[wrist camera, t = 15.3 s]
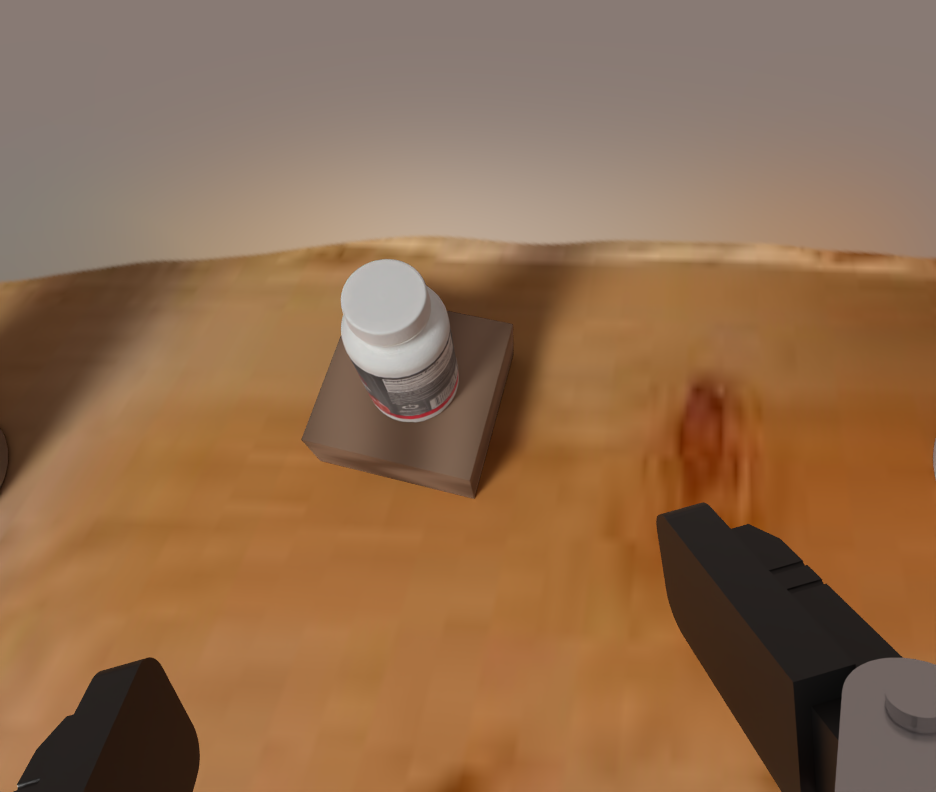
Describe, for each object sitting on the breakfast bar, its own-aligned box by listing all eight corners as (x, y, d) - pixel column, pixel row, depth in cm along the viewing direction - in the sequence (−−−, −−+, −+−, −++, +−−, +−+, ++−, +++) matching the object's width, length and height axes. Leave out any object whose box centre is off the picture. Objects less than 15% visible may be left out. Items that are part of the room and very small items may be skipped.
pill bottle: (356, 360, 40) (310, 269, 31) (440, 328, 41) (418, 228, 32) (386, 439, 38) (346, 365, 29) (473, 404, 39) (461, 320, 30)
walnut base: (320, 460, 42) (301, 439, 39) (370, 323, 46) (357, 292, 42) (474, 498, 41) (469, 480, 37) (513, 353, 44) (512, 324, 41)
